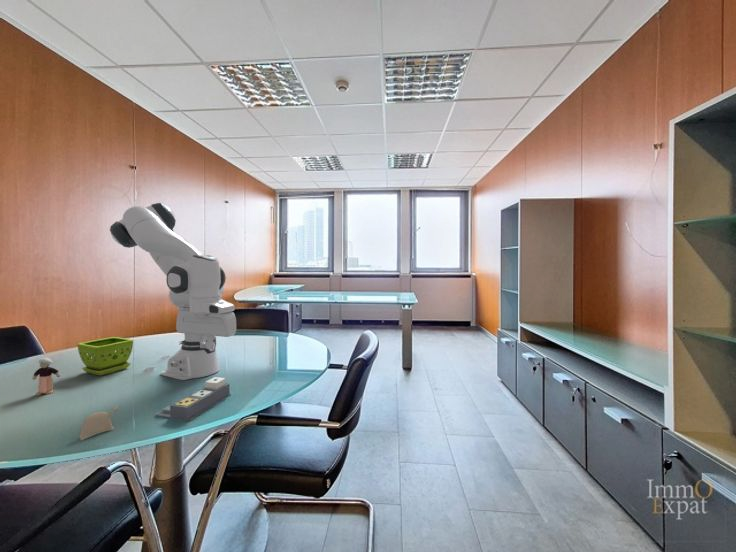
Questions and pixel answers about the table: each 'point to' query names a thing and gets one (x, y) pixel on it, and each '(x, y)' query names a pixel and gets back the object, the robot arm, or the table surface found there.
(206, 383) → the tile one
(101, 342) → the flower pot
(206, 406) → the console
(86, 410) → the table surface
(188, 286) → the robot arm
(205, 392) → the tile two
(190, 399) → the tile three
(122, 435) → the table surface
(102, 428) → the decorative ornament
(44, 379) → the grandmother figurine
